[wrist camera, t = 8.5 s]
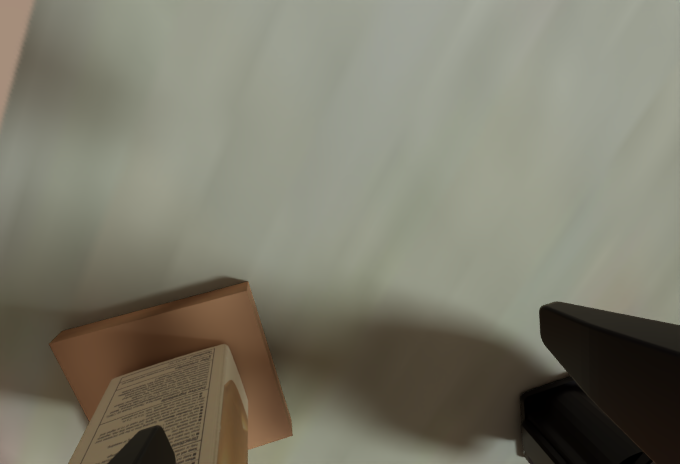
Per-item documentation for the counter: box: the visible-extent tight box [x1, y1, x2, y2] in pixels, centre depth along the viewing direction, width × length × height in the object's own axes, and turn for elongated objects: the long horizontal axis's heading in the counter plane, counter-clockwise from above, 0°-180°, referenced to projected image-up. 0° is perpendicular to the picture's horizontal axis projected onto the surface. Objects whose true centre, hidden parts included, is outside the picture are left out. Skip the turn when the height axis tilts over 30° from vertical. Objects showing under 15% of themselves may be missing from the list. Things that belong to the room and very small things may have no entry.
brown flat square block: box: [49, 282, 293, 450], centre depth 22 cm, size 10×10×2 cm
